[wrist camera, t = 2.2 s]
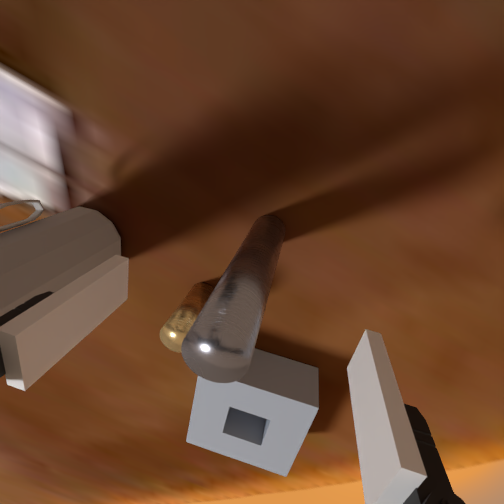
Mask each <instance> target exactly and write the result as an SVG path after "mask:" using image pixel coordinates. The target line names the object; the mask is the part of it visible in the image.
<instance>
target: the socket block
mask: <svg viewBox="0 0 504 504" xmlns="http://www.w3.org/2000/svg"><path fill="white" fill-rule="evenodd" d="M318 409H319V379H318V368H317V367H313V366H310V365H307V364H304V363H301V362H297V361H294V360H291V359H288V358H285V357H281V356H278V355H275V354H272V353H268V352H265V351H262V350H259V349H256V348H254V352H253V355H252V359H251V363H250V366H249V369H248V371H247V373H246V374H245V375H244V376H243V377H242V378H241V379H239V380H237V381H235V382H231V383H216V382H212V381H209V380H206V379H204V378H202V377H200V376H198V379H197V384H196V390H195V395H194V401H193V406H192V412H191V418H190V423H189V429H188V434H187V440H186V442H188V443H191V444H194V445H197V446H200V447H202V448H205V449H208V450H211V451H214V452H217V453H220V454H222V455H225V456H228V457H231V458H234V459H237V460H240V461H243V462H245V463H248V464H251V465H254V466H257V467H260V468H263V469H265V470H268V471H271V472H274V473H277V474H280V475H283V476H285V477H286V476H287V474H288V472H289V470H290V468H291V466H292V464H293V462H294V459H295V457H296V455H297V453H298V451H299V449H300V447H301V445H302V443H303V441H304V438H305V436H306V434H307V432H308V430H309V428H310V426H311V424H312V422H313V420H314V418H315V415H316V413H317V411H318Z"/></svg>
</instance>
